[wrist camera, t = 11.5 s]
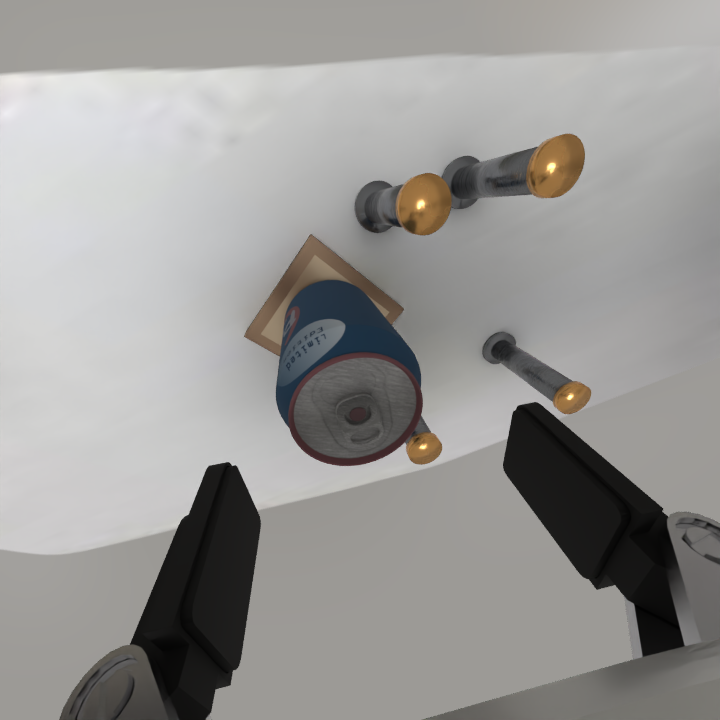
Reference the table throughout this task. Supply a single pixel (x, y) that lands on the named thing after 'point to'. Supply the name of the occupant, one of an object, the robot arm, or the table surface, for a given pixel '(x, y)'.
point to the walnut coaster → (304, 271)
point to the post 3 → (517, 172)
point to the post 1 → (405, 205)
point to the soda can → (345, 377)
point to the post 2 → (423, 444)
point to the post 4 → (537, 373)
